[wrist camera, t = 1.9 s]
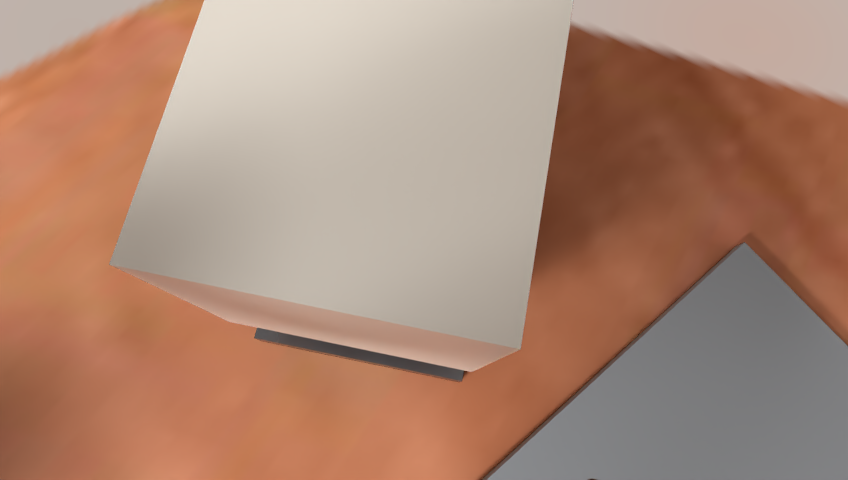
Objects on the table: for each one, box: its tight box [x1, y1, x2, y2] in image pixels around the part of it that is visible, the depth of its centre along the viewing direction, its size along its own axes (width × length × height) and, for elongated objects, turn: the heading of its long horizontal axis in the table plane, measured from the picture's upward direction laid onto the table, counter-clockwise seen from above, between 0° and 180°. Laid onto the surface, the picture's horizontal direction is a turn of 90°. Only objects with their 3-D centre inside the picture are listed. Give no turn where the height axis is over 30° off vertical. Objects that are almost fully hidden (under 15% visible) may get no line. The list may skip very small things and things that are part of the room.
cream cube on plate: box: [109, 0, 574, 372], centre depth 14 cm, size 7×7×7 cm
